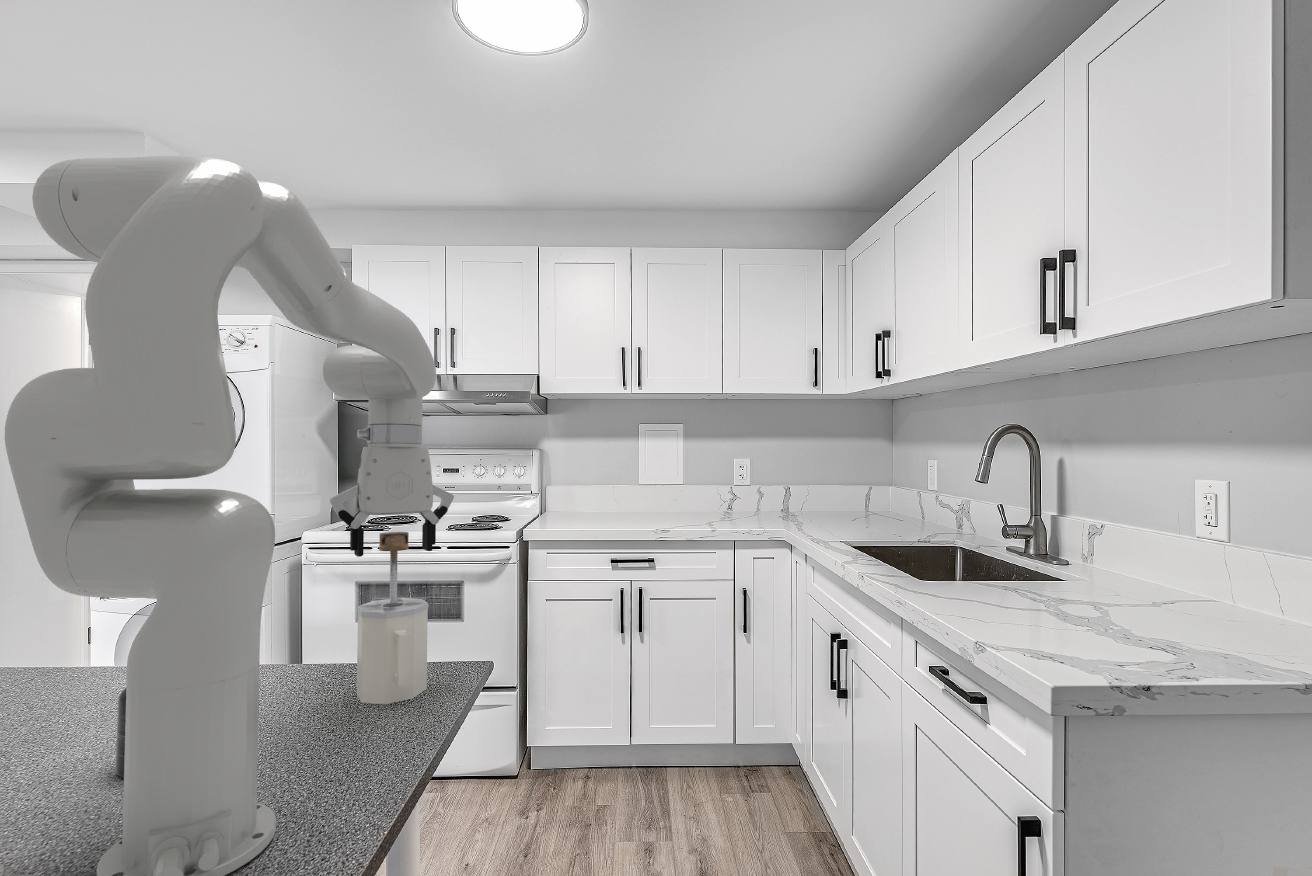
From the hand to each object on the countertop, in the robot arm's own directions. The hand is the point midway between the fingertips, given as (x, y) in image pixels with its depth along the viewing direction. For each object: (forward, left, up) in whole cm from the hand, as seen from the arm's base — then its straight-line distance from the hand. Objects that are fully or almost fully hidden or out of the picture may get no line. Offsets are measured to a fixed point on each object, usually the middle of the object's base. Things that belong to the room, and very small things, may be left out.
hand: (393, 552), depth 95 cm
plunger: (0, 0, -14) cm, 14 cm away
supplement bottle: (-9, +27, -21) cm, 35 cm away
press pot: (-1, 0, -21) cm, 21 cm away
